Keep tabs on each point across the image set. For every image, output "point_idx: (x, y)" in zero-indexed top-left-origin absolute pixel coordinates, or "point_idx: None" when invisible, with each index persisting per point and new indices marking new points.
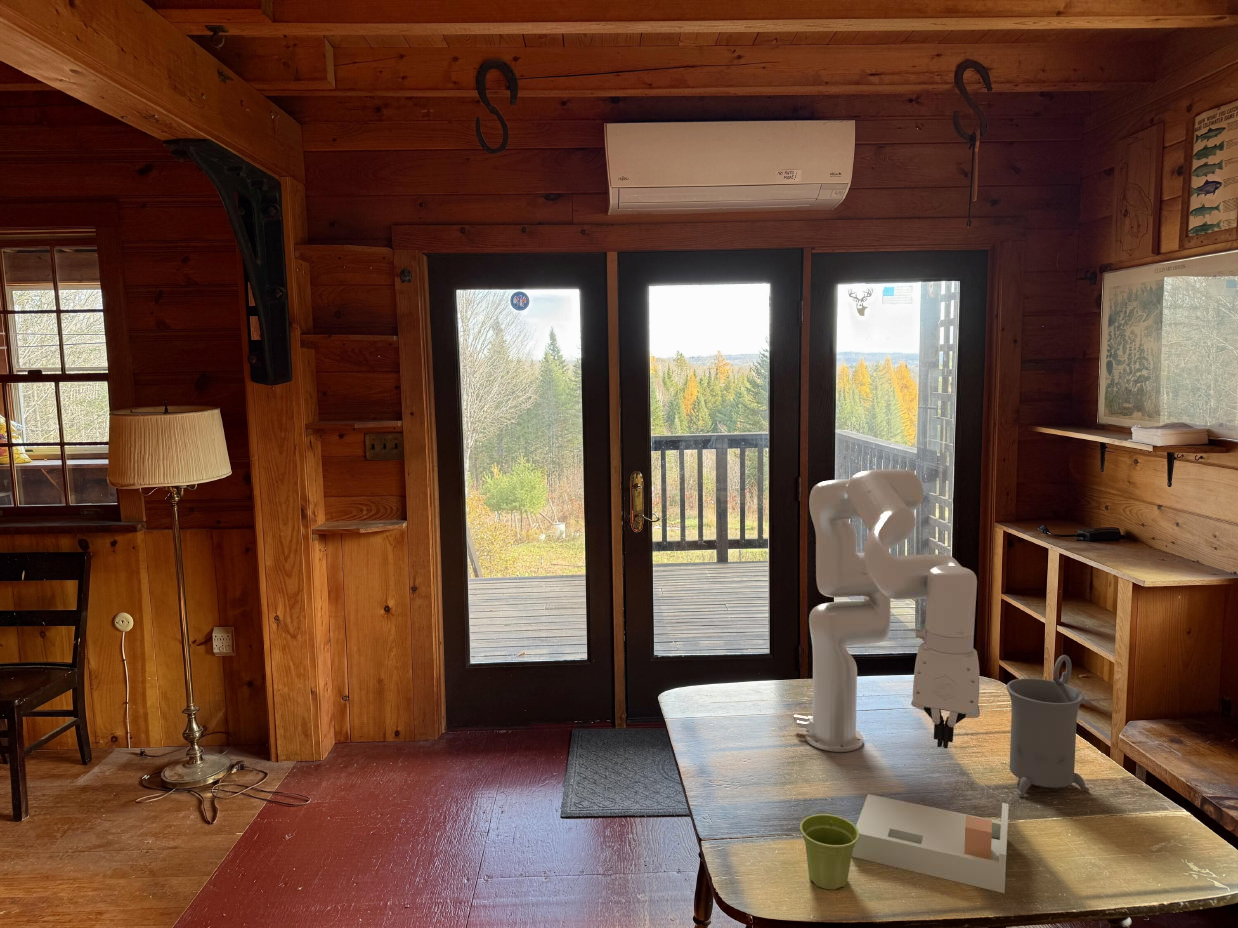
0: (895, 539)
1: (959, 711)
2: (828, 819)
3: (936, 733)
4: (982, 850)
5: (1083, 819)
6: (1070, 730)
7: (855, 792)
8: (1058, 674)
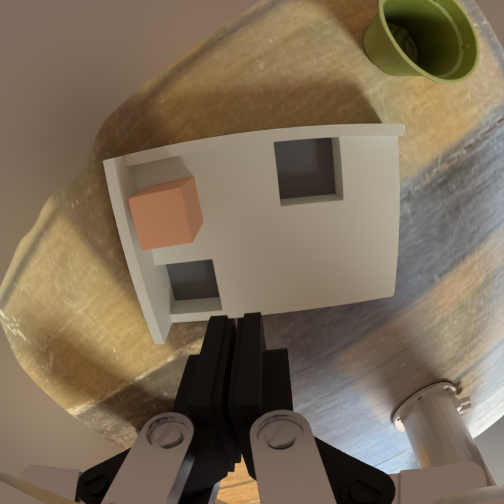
0: None
1: (26, 498)
2: (450, 78)
3: (273, 369)
4: (158, 186)
5: (116, 383)
6: None
7: (403, 316)
8: None
